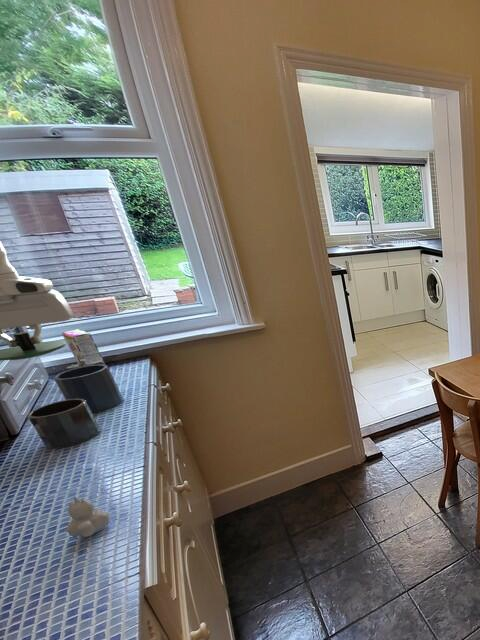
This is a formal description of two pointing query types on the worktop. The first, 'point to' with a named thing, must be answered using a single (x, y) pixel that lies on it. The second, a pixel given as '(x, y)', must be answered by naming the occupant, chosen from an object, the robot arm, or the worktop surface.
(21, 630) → the worktop surface
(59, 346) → the lid
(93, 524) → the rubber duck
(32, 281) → the robot arm
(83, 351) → the candy bar box
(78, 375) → the tin
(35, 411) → the cup
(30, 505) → the worktop surface
